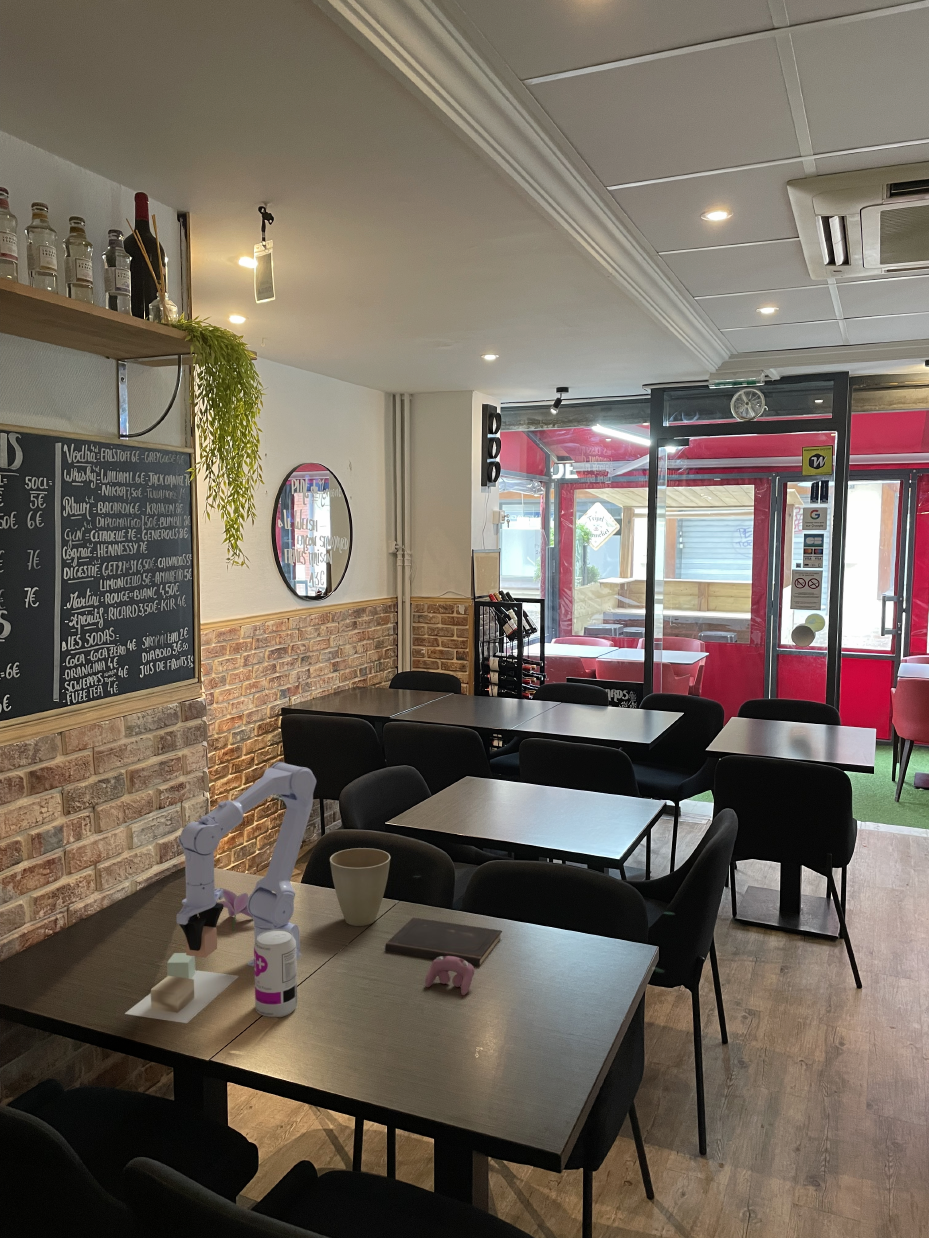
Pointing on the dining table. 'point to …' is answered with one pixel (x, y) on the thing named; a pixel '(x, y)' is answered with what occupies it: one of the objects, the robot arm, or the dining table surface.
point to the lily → (235, 904)
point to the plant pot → (360, 883)
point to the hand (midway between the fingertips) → (201, 944)
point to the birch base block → (172, 994)
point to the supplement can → (275, 973)
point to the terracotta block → (205, 943)
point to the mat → (204, 993)
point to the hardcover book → (443, 940)
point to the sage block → (181, 966)
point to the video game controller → (454, 964)
